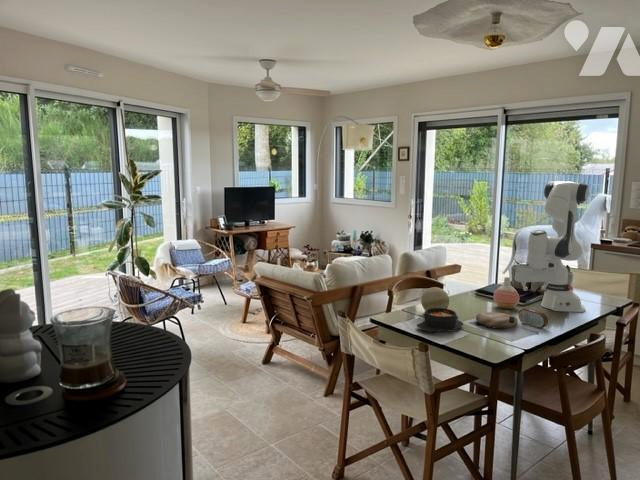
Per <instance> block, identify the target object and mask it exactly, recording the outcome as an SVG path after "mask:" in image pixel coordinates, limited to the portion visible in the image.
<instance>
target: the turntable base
mask: <svg viewBox="0 0 640 480" xmlns="http://www.w3.org/2000/svg"><path fill="white" fill-rule="evenodd" d="M487 327H488V325H487ZM493 327H494V326H490V327H489V328H493ZM494 329H508V328H507V327H495V328H494Z"/></svg>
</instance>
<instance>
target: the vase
mask: <svg viewBox="0 0 640 480" xmlns="http://www.w3.org/2000/svg"><path fill="white" fill-rule="evenodd" d="M493 301H494V303H495V305H497V306H498V308H500V309H502V310H511V309H513V308H515V307H516V306H518V304H519V302H520V295H519V293H518V291H517V290H516V288H514V287H513V286H512V285H511V277H509V276H506V277H505V276H504V278H503V285H500V286H498V288H496V289H495V291H494V293H493Z"/></svg>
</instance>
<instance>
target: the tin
mask: <svg viewBox="0 0 640 480" xmlns="http://www.w3.org/2000/svg"><path fill="white" fill-rule="evenodd" d="M517 316H518V319H519V321H520V322H521V323H522V324H524V325H527V326H529V327H534V328H536V329H543V328H545V327H546V328H547V326H548V325H549V318H548V316H547V315H546V314H545V312H542V311H541V310H537V309H533V308H529V307H524V308H521V309H520V310H519V311H518V315H517Z"/></svg>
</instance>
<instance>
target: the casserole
mask: <svg viewBox="0 0 640 480" xmlns="http://www.w3.org/2000/svg"><path fill="white" fill-rule="evenodd" d="M424 311H425V310H424ZM423 318H424V320H423V321H421V322H420V323H417V324H416V327H417V328H419V329H421V330H422V331H427V332H430V333H431V332H435V333H436V332H438V333H439V332H440V333H441V332H442V333H444V332H452V331H456V330H459V328H460V327H462V326H464V323H463V321H460V320H458V319H459V317H458V315H457V312H456V311H454V310H453V309H448V308H447V309H444V308H432V309H428V310H426V311H425V312H424V313H423Z"/></svg>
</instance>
